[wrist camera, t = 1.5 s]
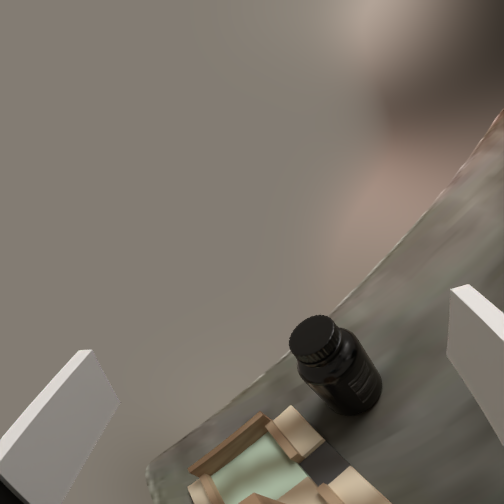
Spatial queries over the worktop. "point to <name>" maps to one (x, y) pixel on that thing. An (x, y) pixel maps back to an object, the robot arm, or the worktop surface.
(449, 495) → the worktop surface
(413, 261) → the worktop surface
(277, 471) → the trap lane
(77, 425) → the robot arm
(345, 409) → the supplement bottle
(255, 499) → the walnut block
